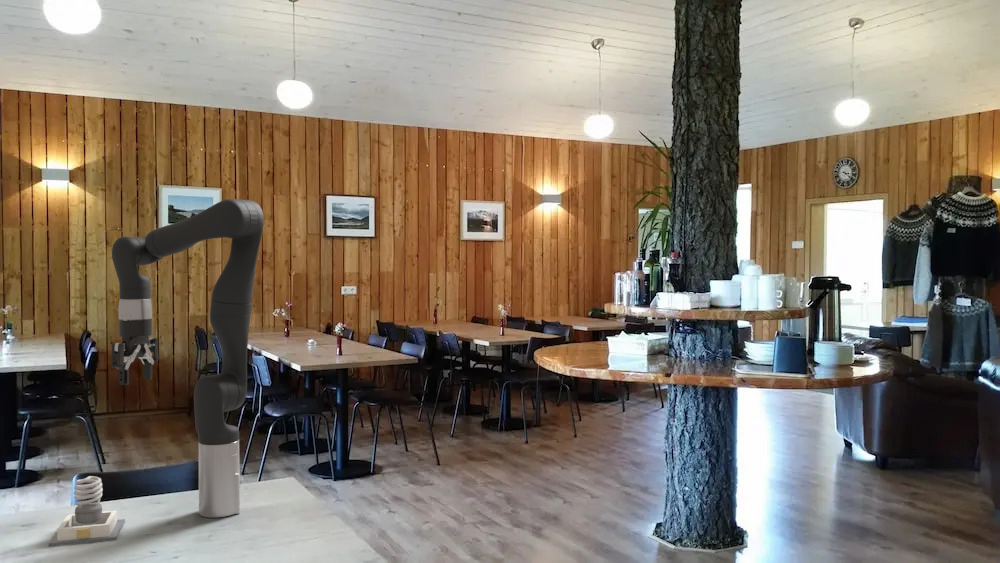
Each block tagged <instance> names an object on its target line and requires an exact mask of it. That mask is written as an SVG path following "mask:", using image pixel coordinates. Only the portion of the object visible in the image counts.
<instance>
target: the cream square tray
mask: <svg viewBox="0 0 1000 563" xmlns="http://www.w3.org/2000/svg"><path fill="white" fill-rule="evenodd" d="M117 520H118V510H106V511H105V510H104V511H102V517H101V519H100V520H98V521H95V524H96V525H85V526H82V523H78V522H76V518H75V513H70V514H67V516H66V517H65V518H64V520H63V521H62V523H61V524H60V525H59V526H58V528H57V530H56V532H57V541H63V540H74V539H85V538H95V537H106V536H110V534H111V532H112V530H113V528H114V526H115V524H116V523H117ZM73 526H74V527H73Z"/></svg>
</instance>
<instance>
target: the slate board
mask: <svg viewBox="0 0 1000 563" xmlns="http://www.w3.org/2000/svg"><path fill="white" fill-rule="evenodd" d="M125 522H126V519H125V518H124V519H123V518H122V519H117V523H116V524H115V526H114V528H113V530H112V532H111V534H110V536H106V537H95V538H85V539H74V540H63V541H57V531H56V532H55V533H54V534H53V536H52V538H51V539H50V541H49V542H48V543H47V546H48V547H53V546H55V547H56V546H66V545H77V544H85V543H95V542H106V541H107V542H108V541H117V538H118V537H119V535H120V533H121V531H122V529H123V527H124V525H125ZM95 525H96V524H95ZM73 527H74V526H73Z"/></svg>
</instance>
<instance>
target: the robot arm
mask: <svg viewBox="0 0 1000 563" xmlns="http://www.w3.org/2000/svg"><path fill="white" fill-rule="evenodd" d="M264 219H265V218H264V212H263V210H262V207H261V206H260V205H259V204H258V203H257V202H256V201H254V200H250V199H239V198H227V199H224V200H221V201H218V202H217V203H215V204H213V205H211V206H209V207H208V208H206V209H205V210H202V211H201V212H198V213H196V214H194V215H193V216H190V217H187V218H186V219H183V220H180V221H177V222H174V223H173V222H172V223H171V224H167V225H165V226H162V227H159V228H155V229H153V230H151V231H149V232H148V233H147V234H146V236H120V237H118V238H117V239H116V240H114V243H113V244H112V247H111V259H112V263H113V266H114V269H115V273H116V277H117V279H118V284H119V287H118V288H119V303H118V336H119V337H120V338H122V340H121V342H113V343H112V344H111V361H110V362H111V365H110V366H111V368H112V369H113V368H114V369H117V370H118V382H119V385H120V386H127V385H129V384H130V369H129V368H130V365H131V364H132V363H133V362H135V359H139V360H141V362H142V379H143V380H144V381H145V380H146V381H148V380H152V379H153V365H154V364H155V362H158V361H159V360H160V359H159V340H158V338H157V337H150V336H152V335H153V307H152V305H153V304H152V298H151V297H152V296H151V293H152V292H151V287H152V285H151V279H150V278H149V276H147V275H145V274H141V273H140V271H139V267H138V266H145V265H151V264H153V263H154V264H155V263H157V262H159V261H160V260H162V259H163V258H165V257H169V256H172V255H175V254H178V253H181V252H184V251H186V250H188V249H191V248H192V247H193V246H194V245H196V244H198V243H199V242H203V241H205V240H211V239H213V240H214V239H220V238H221V239H223V238H227V239H231V243H230V244H231V245H230V251H229V252H230V253H229V256H228V259H227V262H226V265H225V266H224V268H223V270H222V271H221V273H220V275H219V277H218V279H217V280H216V282H215V284H214V286H213V289H212V292H211V300H210V312H209V321H210V325H211V328H212V330H213V332H214V334H215V336H216V338H217V340H218V343H219V345H220V348H221V353H222V362H221V363H222V364H221V370H220V371H221V373H216V374H209V375H206V376H203V377H200V378H199V379H198V380H197V381H196V383H195V385H194V391H193V410H194V411H193V412H194V426H195V430H196V433H197V436H198V438H197V439H198V514H199V516H202V517H204V518H212V519H213V518H223V517H224V518H225V517H227V516H228V517H229V516H231V515H235V514H238V515H239V514H240V509H241V508H240V507H241V490H240V489H241V477H240V476H241V472H240V471H241V470H240V469H241V468H240V430H239V427H237V426H235V425H232V424H228V423H226V421H225V415H224V413H225V412H230V411H234V410H237V409H239V408H240V407H241V406H242V405H243V404H244V403H245V400H246V397H247V392H248V391H247V390H248V348H249V347H248V345H249V334H250V333H249V332H250V323H251V315H252V308H253V307H252V305H253V291H254V284H255V283H254V282H255V276H256V266H257V260H258V254H259V250H260V244H261V241H262V237H263V230H264V225H265V224H264V223H265V220H264ZM117 360H118V362H117Z"/></svg>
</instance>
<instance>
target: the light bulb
mask: <svg viewBox="0 0 1000 563" xmlns="http://www.w3.org/2000/svg"><path fill="white" fill-rule="evenodd" d="M74 484H75V485H74V487H73V489H74V492H73V495H74V497H73V498H74V500H76V501H77V502H76V507H75V508H74V514H75V518H76V522H78V523H82V526H85V525H95V521H98V520H100V519H101V517H102V512H103V506H102V504H101V498H102V496H103V491H104V489H103V482H102V478H101V477H98V476H94V475H89V476H87V477H85V478H82V479H77V480H75V483H74ZM87 499H88V500H87ZM81 500H82V501H81Z"/></svg>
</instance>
